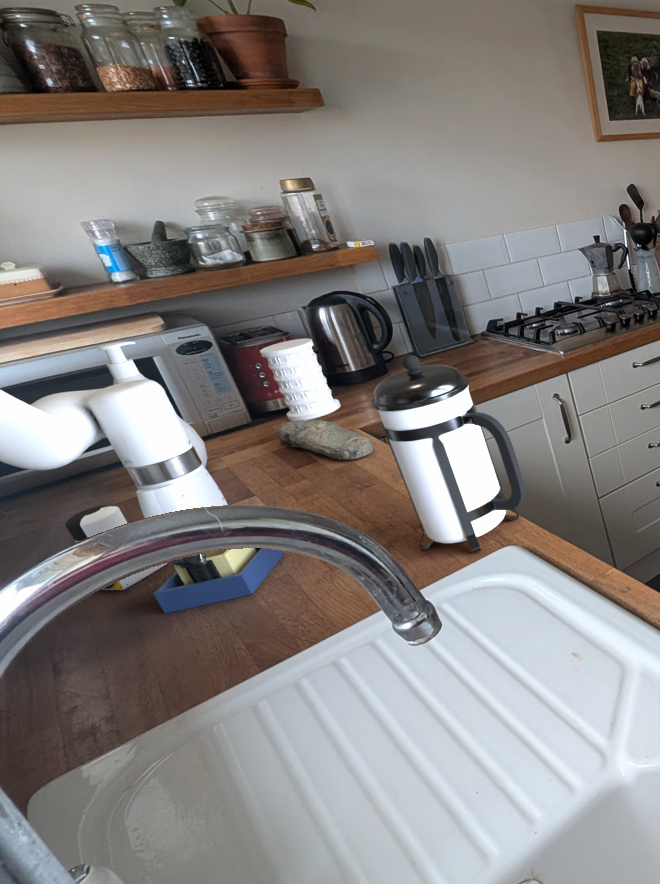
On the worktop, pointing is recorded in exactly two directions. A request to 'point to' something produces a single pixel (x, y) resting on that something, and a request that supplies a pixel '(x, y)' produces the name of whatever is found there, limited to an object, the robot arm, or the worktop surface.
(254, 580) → the blue bin
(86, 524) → the medicine bottle
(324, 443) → the elongated rock
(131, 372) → the soap bottle
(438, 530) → the coffee press
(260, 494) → the worktop surface
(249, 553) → the cream bin
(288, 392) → the decorative container
